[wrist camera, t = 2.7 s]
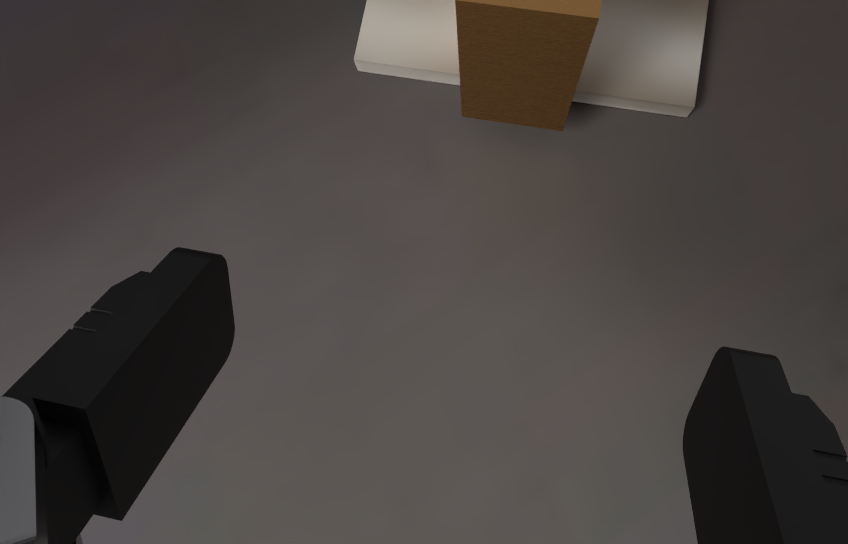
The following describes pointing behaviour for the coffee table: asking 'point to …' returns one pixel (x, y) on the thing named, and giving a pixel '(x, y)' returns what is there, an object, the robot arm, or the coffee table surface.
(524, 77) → the shaft
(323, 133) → the coffee table surface
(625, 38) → the base board
